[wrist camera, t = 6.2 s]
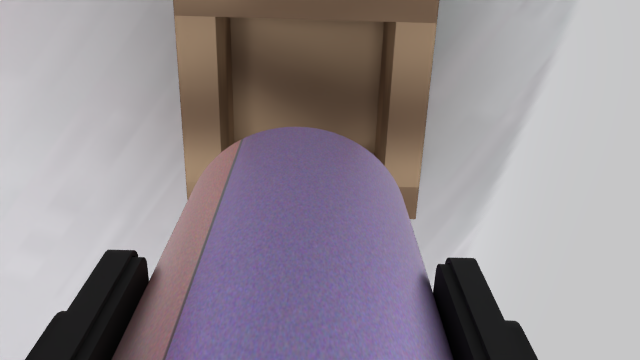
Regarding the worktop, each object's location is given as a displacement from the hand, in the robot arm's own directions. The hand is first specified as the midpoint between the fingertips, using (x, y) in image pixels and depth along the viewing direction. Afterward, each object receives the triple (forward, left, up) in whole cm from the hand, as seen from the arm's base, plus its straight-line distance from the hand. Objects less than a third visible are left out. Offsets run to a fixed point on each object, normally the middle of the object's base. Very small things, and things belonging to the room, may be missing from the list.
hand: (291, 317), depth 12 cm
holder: (0, 0, -20) cm, 20 cm away
